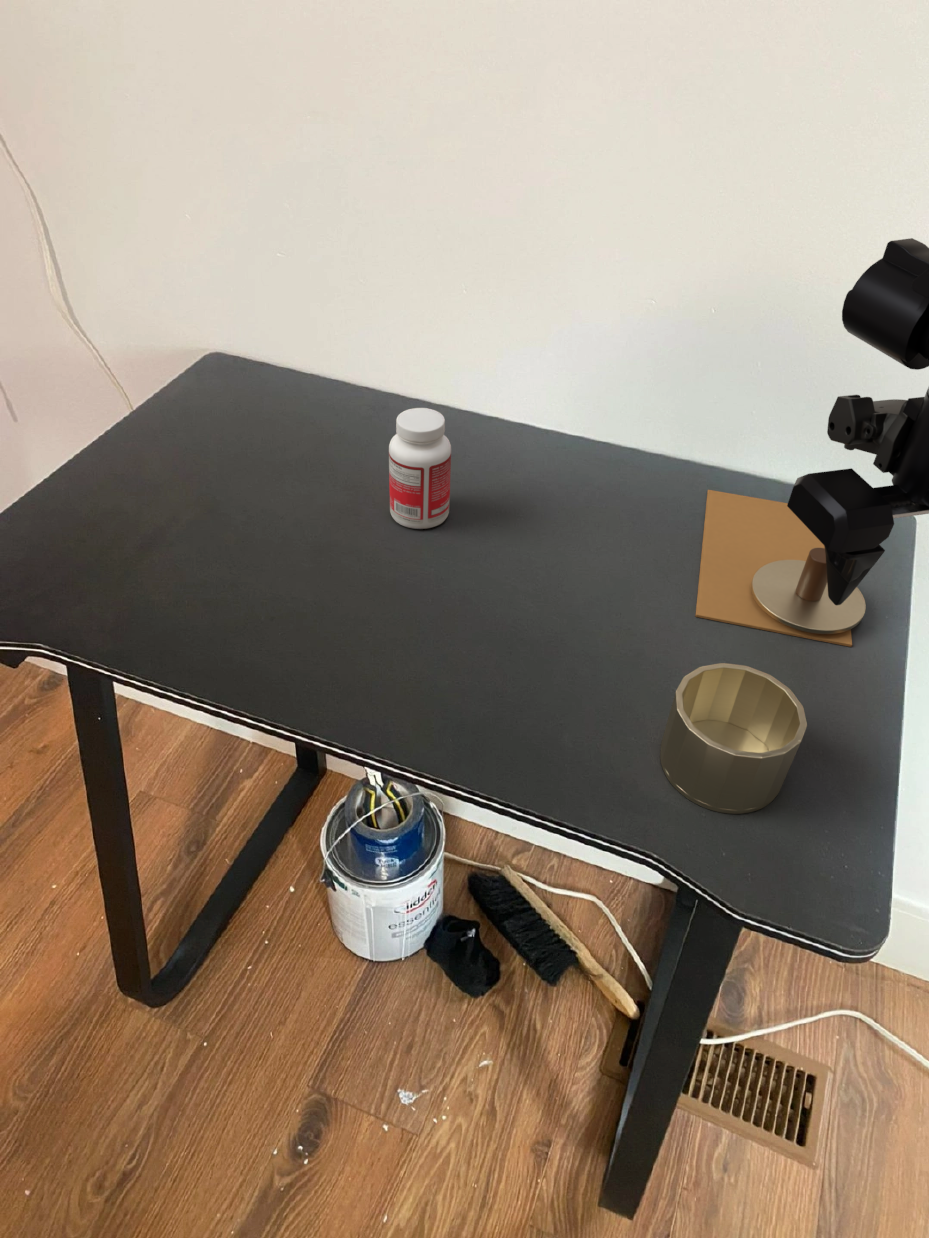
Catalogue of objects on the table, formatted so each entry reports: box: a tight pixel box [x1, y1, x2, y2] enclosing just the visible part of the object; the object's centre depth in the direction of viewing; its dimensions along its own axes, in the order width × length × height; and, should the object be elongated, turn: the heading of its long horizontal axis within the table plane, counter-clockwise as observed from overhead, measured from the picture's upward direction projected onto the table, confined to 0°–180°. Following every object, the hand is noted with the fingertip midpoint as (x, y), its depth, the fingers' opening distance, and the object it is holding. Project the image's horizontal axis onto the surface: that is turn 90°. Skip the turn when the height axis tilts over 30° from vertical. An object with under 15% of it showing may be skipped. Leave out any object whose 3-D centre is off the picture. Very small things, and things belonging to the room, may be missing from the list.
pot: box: [659, 662, 808, 815], centre depth 70 cm, size 9×9×6 cm
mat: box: [694, 489, 853, 648], centre depth 92 cm, size 14×22×1 cm, turn 166°
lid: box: [751, 548, 867, 634], centre depth 85 cm, size 10×10×6 cm
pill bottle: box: [388, 407, 452, 530], centre depth 92 cm, size 6×6×11 cm
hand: (887, 592), depth 68 cm, fingers open, 9 cm apart
